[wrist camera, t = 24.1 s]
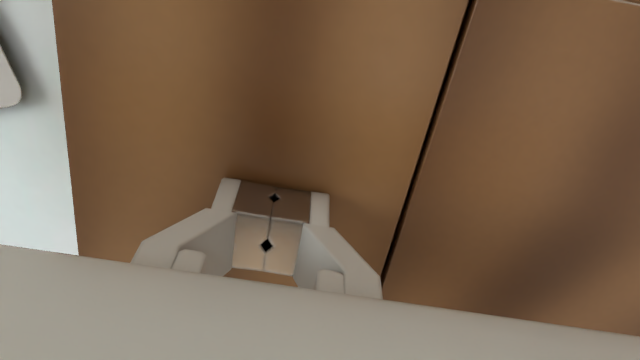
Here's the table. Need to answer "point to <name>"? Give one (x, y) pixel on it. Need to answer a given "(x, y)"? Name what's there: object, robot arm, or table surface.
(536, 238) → the carton
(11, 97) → the grey board with tab
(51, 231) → the table surface
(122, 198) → the flap
